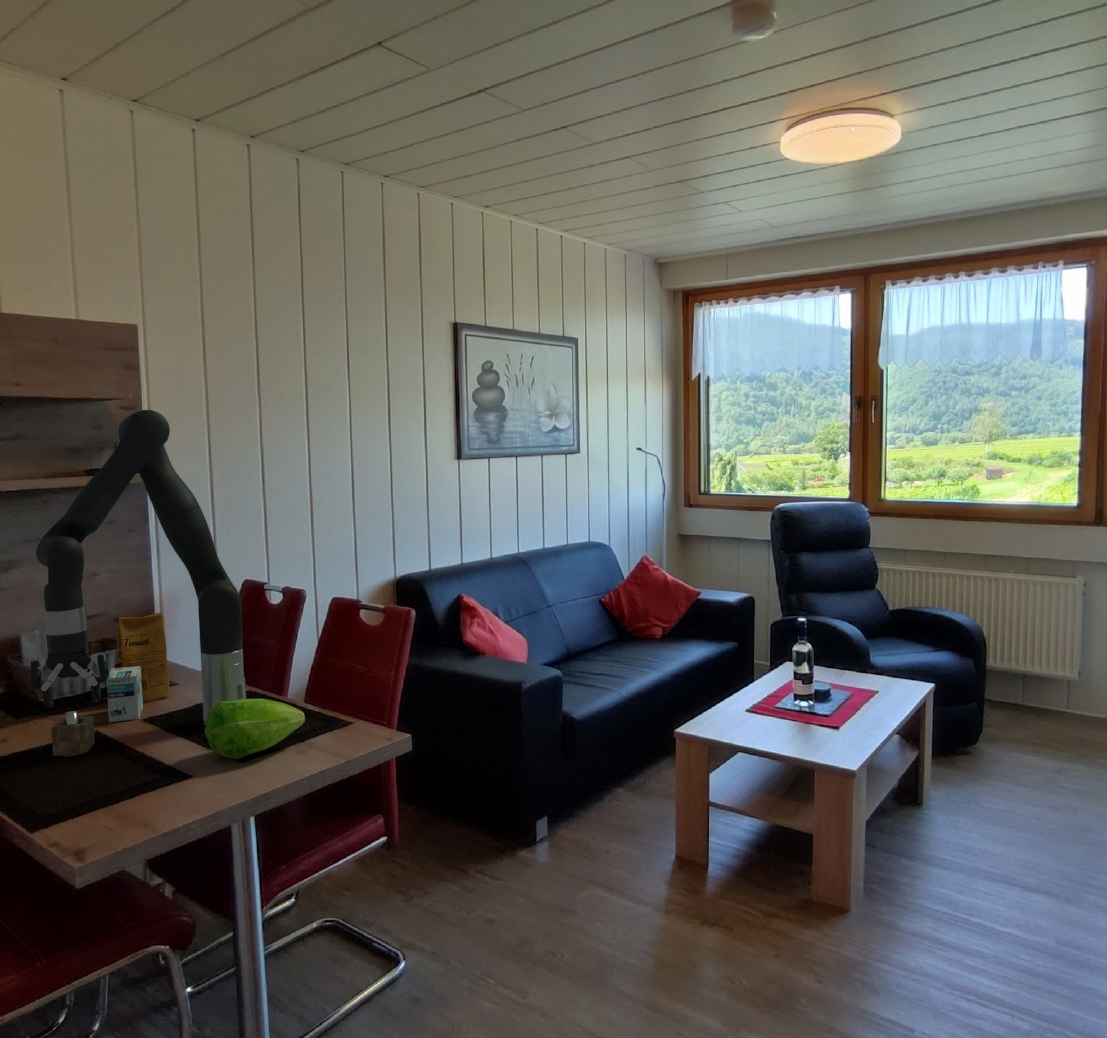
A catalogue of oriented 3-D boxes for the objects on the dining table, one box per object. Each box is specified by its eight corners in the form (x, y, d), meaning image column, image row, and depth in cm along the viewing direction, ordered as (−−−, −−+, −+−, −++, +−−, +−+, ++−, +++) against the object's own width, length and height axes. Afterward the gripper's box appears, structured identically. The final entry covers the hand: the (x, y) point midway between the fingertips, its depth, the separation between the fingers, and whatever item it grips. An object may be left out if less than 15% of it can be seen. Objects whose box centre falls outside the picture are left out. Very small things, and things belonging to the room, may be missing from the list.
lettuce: (312, 753, 175) (310, 698, 174) (210, 772, 166) (208, 713, 165) (298, 734, 187) (296, 682, 187) (202, 751, 178) (199, 696, 177)
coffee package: (114, 697, 218) (109, 614, 216) (165, 689, 225) (161, 609, 223) (118, 707, 210) (113, 621, 208) (172, 698, 216) (167, 615, 215)
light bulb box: (139, 719, 200) (137, 675, 199) (108, 723, 197) (105, 678, 196) (143, 707, 210) (141, 665, 209) (113, 710, 207) (111, 667, 206)
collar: (95, 742, 182) (93, 715, 182) (86, 752, 176) (85, 724, 175) (62, 745, 180) (60, 718, 180) (53, 755, 174) (51, 727, 174)
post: (93, 745, 182) (90, 707, 181) (85, 755, 176) (83, 715, 175) (62, 748, 180) (60, 709, 179) (53, 758, 174) (51, 718, 174)
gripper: (107, 623, 181) (113, 695, 183) (33, 629, 177) (40, 703, 179) (99, 630, 174) (105, 705, 175) (22, 636, 170) (29, 713, 171)
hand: (72, 704), depth 177 cm, fingers open, 8 cm apart
